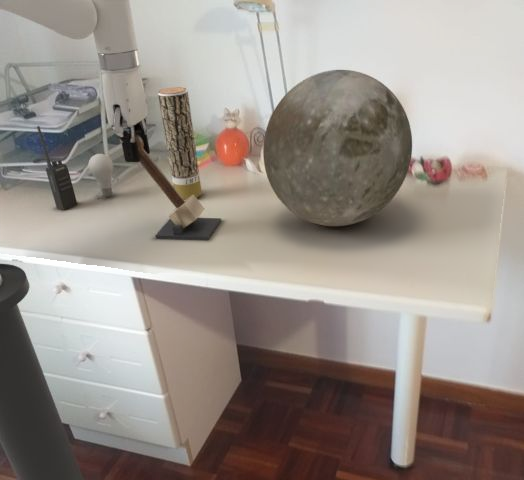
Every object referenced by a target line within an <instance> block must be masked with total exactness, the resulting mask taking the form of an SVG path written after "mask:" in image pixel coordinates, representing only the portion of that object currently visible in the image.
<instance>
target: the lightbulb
mask: <svg viewBox="0 0 524 480" xmlns="http://www.w3.org/2000/svg"><path fill="white" fill-rule="evenodd" d="M88 171H89V172H90V174H91V175H92V177H93V178H94V179H95V181H96V182H97V184H98V186H99V188H100V191H101V194H102V196H103V197H106V198H110V197H111V196H112V195H113V188H112V186H113V183H112V176H113V173H114V163H113V161H112V159H111V157H109V156H108V155H106V154H104V153H95V154H94V155H92V156H91V157H90V159H89V161H88Z"/></svg>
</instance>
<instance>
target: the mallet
mask: <svg viewBox="0 0 524 480" xmlns="http://www.w3.org/2000/svg"><path fill="white" fill-rule="evenodd" d="M134 137H135V142H137V144H138V150H139V155H140V161H139V162H138V163H139V164H141V166H142V167H143V168H144V170H145V171H146V172H147V174H149V176H150V177H151V179H152V180H153V181H154V182H155V184H156V185H157V186H158V187H159V189H160V190H161V191H162V193H164V196H166V197H167V199H168V200H169V201H170V202H171V203H172V205H173V207H175V208H174V209H173V210H172V211H171V213H169V215H168V218H169V219H171V220H172V221H173V223H174V224H175V225H182V226H183V228H185V227H186V226H188V225H189V224H191V223H192V222H194V221H195V220H196V219H197V218H200V216H201V215H202V213H203V212H204V211H205V207H204V206H203V204H202V203H201V202H200V200H199V198H196V197H195V196H194V194H193V195H192V196H190V197H189V198H187V199H186V200H184V199H183V198H182V197H181V196H180V194H179V193H178V192H177V191H176V189H175V188H174V185H173V183H171V182H170V180H169V179H168V178H167V176H166V175H165V173H164V172H163V171H162V170H161V169H160V167H159V166H158V165H157V164H156V162H155V161H154V159H153V158H152V157H151V156H150V154H147V152H146V151H145V150H144V149H143V148H144V143H143V140H142V138H141V137H140V136H139V135H137V134H135V133H134Z"/></svg>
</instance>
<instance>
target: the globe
mask: <svg viewBox="0 0 524 480" xmlns="http://www.w3.org/2000/svg"><path fill="white" fill-rule="evenodd" d="M262 152H263V153H262V154H263V166H264V170H265V173H266V177H267V180H268V182H269V185H270V187H271V189H272V190H273V192H274V194H275V196H276V197H277V198H278V199H279V201H280V202H281V203H282V204H283V205H284V206H285V207H286V208H287V209H288V210H289V211H290V212H292V214H294V215H296V216H297V217H299V218H301V219H303V220H305V221H307V222H308V223H312V224H314V225H319V226H325V227H345V226H350V225H354V224H357V223H360V222H363V221H365V220H367V219H369V218H371V217H373V216H374V215H376V214H377V213H379V212H380V211H382V210H383V209H384V208H385V207H386V206H387V205H388V204H389V203H391V201H392V200H393V199H394V197H395V196H396V195H397V194H398V192H399V190H400V189H401V187H402V186H403V183H404V181H405V180H406V177H407V174H408V172H409V169H410V165H411V161H412V156H413V155H412V153H413V135H412V129H411V124H410V120H409V117H408V115H407V113H406V110H405V108H404V107H403V105H402V103H401V101H400V100H399V98H398V97H397V96H396V95H395V93H394V92H393V91H391V89H390V88H389V87H388V86H387V85H385V84H384V83H383V82H382V81H379V80H378V79H376V78H375V77H374V76H371V75H369V74H366V73H363V72H360V71H356V70H352V69H351V70H350V69H331V70H326V71H321V72H318V73H316V74H312V75H311V76H309V77H306V78H305V79H303V80H302V81H300V82H298V83H297V84H296V85H294V86H292V87H291V88H290V90H288V91H287V92H286V94H285V95H284V96H283V97H282V98H281V99H280V101H279V102H278V103H277V104H276V106H275V108H274V110H273V111H272V113H271V115H270V118H269V120H268V122H267V126H266V129H265V133H264V138H263V147H262Z"/></svg>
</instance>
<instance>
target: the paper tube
mask: <svg viewBox="0 0 524 480" xmlns="http://www.w3.org/2000/svg"><path fill="white" fill-rule="evenodd" d="M157 97H158V103H159V108H160V116H161V121H162V126H163V127H162V128H163V132H164V138H165V144H166V150H167V156H168V161H169V162H168V163H169V168H170V173H171V180H172V185H173V187H174V188H175V189H176V191H177V192H178V193H179V194H180V196H181V197H182V198H183V199H184V201H185V200H186V199H187V198H189V197H190V196H192V195H193V194H194V196H195V197H196V198H197V199H199V198H200V197H201V196H202V193H203V191H202V184H201V176H200V169H199V163H198V153H197V148H196V139H195V134H194V126H193V120H192V119H193V118H192V112H191V111H192V110H191V106H190V98H189V91H188V87H184V86H175V87H166V88H163V89H159V90H157Z"/></svg>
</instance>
